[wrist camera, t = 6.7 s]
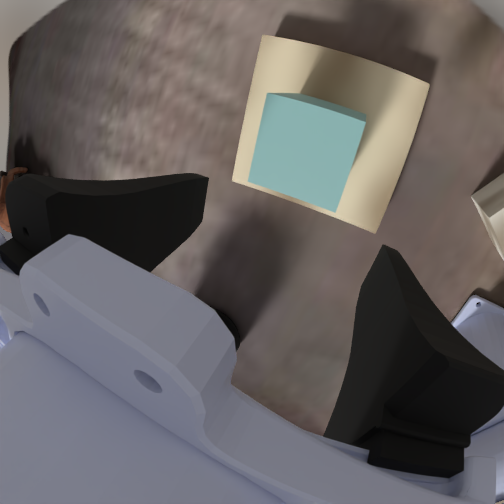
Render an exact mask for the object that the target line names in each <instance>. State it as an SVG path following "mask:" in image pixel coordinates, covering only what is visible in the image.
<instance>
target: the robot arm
mask: <svg viewBox="0 0 504 504" xmlns="http://www.w3.org/2000/svg"><path fill="white" fill-rule="evenodd" d="M208 181H209V178H208V177H205V176H202V175H199V174H194V173H184V174H173V175H164V176H156V177H147V178H138V179H128V180H109V181H99V180H73V179H63V178H54V177H48V176H42V175H37V174H25V175H23V176H21V177H19V178H17V179H15V180H13V181H11V182H9V184H8V185H7V188H6V193H5V203H6V210H7V215H8V220H9V224H10V229H11V233H12V237H13V238H12V239H10V240H8V241H6V239H5V237H4V236H3V234H2V233H0V504H495V503H496V502H499V501H502V500H504V308H502V307H500V306H498V305H496V304H494V303H492V302H490V301H488V300H486V299H484V298H481V297H479V296H477V295H473V296H471V297H470V298H469V299H468V301H467V302H466V304H465V305H464V306H463V308H462V309H461V311H460V312H459V313H458V315H457V316H456V317H455V319H454V320H453V321H452V323H450V322H449V321H448V320H447V319H446V318H445V316H444V315H443V314H442V313H441V311H440V310H439V309H438V308H437V307H436V305H435V304H434V303H433V301H432V300H431V299H430V297H429V296H428V295H427V293H426V292H425V290H424V289H423V287H422V286H421V285H420V283H419V282H418V280H417V278H416V277H415V275H414V274H413V272H412V271H411V269H410V268H409V266H408V265H407V263H406V261H405V260H404V259H403V257H402V256H401V254H400V253H399V252H398V251H397V250H395V249H393V248H390V247H388V246H386V245H382V247H381V249H380V251H379V253H378V255H377V257H376V259H375V261H374V263H373V265H372V267H371V269H370V271H369V272H368V274H367V276H366V278H365V280H364V282H363V284H362V285H361V289H360V293H359V297H358V301H357V306H356V313H355V322H354V330H353V338H352V346H351V353H350V358H349V363H348V367H347V370H346V374H345V377H344V381H343V384H342V387H341V390H340V393H339V396H338V399H337V402H336V405H335V408H334V410H333V413H332V416H331V418H330V421H329V423H328V426H327V428H326V431H325V433H324V435H323V436H320V435H317V434H314V433H311V432H308V431H305V430H302V429H301V428H299V427H297V426H295V425H294V424H292V423H290V422H289V421H287V420H285V419H284V418H282V417H280V416H279V415H277V414H275V413H274V412H272V411H271V410H269V409H267V408H266V407H264V406H263V405H261V404H260V403H258V402H257V401H255V400H253V399H252V398H250V397H249V396H247V395H246V394H244V393H243V392H241V391H240V390H238V389H237V388H236V387H234V386H233V385H231V376H232V373H233V370H234V367H235V364H236V361H237V358H236V348H235V339H234V337H233V335H232V334H231V332H230V331H229V329H228V328H227V327H226V325H225V324H224V322H223V321H222V320H221V318H220V317H219V315H218V314H217V312H216V311H215V310H214V309H212V308H211V307H210V306H208V305H207V304H205V303H204V302H203V301H201V300H200V299H198V298H197V297H196V296H194V295H193V294H191V293H190V292H188V291H186V290H184V289H182V288H180V287H178V286H176V285H174V284H172V283H170V282H168V281H166V280H164V279H162V278H160V277H158V276H156V275H154V274H152V273H150V272H151V271H152V270H153V269H154V268H155V267H156V266H158V265H159V264H160V263H161V262H162V261H163V260H164V259H165V258H166V257H168V256H169V255H170V254H171V253H172V252H173V251H174V250H176V249H177V248H178V247H179V246H180V245H181V244H182V243H183V242H184V241H186V240H187V239H188V238H189V237H190V236H191V234H192V233H193V232H194V231H195V230H196V229H197V227H198V226H199V225H200V224H201V222H202V219H203V212H204V206H205V199H206V193H207V187H208ZM478 302H480V303H479V304H477V303H478ZM502 504H504V503H502Z"/></svg>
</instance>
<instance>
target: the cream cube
mask: <svg viewBox="0 0 504 504" xmlns="http://www.w3.org/2000/svg"><path fill="white" fill-rule="evenodd" d="M471 197H472V199H473V201H474V203H475V205H476V207H477V210H478V212H479V214H480V216H481V218H482V220H483V222H484V225H485V227H486V229H487V232H488V234H489V236H490V239H491V241H492V243H493V244H494V246H495V247H496V249H497V251H498V252H499V254H500V255H501V257H502V259H503V260H504V173H503V174H501V175H500V176H499V177H497V178H496V179H494V180H493V181H491V182H490V183H489V184H487V185H486V186H484V187H483V188H481V189H480V190H479V191H477V192H476V193H474V194H473V195H471Z"/></svg>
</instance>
